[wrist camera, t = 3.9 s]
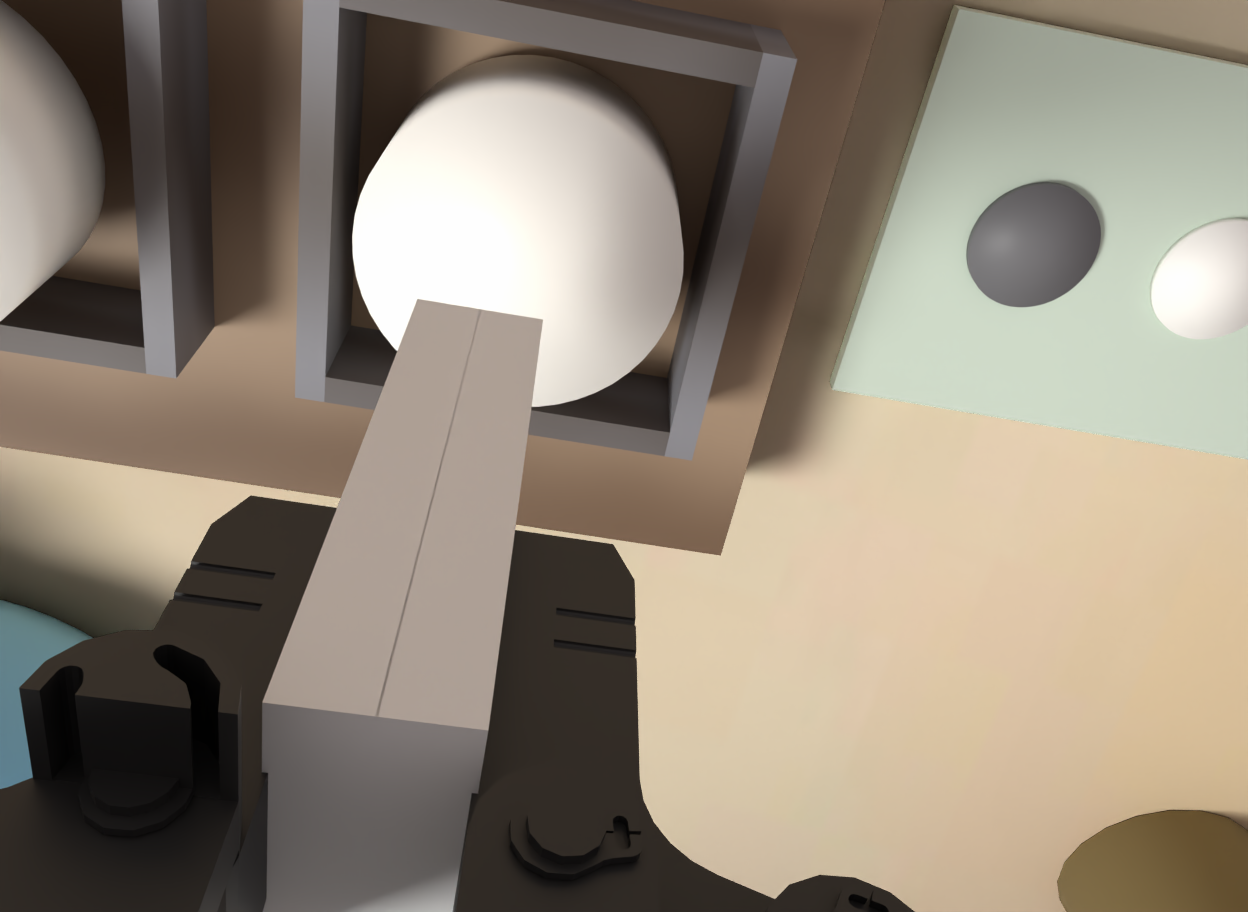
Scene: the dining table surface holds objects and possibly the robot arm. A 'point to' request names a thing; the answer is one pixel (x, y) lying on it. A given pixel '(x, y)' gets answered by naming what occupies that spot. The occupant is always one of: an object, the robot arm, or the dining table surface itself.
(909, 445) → the dining table surface
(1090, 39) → the pattern card
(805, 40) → the button board
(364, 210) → the end button
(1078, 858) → the olive game pawn
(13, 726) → the teapot
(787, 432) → the dining table surface
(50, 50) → the middle button
